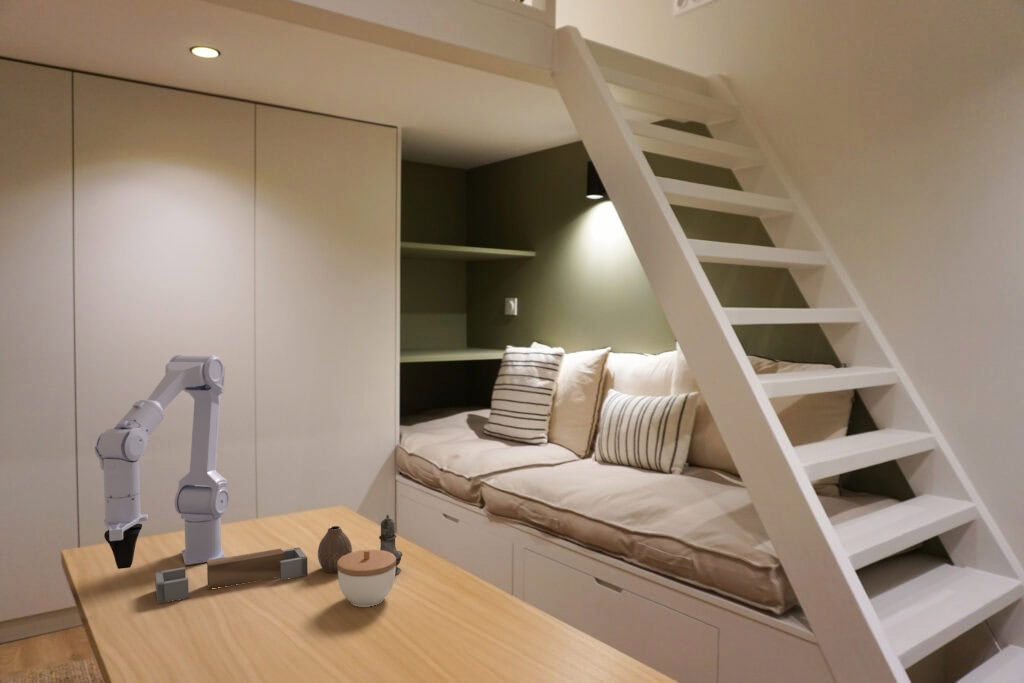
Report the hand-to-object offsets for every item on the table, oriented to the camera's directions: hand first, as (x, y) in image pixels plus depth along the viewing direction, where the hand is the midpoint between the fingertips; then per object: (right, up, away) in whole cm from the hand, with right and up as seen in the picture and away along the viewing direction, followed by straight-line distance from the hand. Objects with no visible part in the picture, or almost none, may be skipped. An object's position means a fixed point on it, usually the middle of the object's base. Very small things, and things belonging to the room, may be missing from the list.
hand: (124, 567), depth 128 cm
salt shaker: (+46, -6, +15) cm, 49 cm away
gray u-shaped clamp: (+7, -7, +4) cm, 10 cm away
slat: (+18, -6, +11) cm, 22 cm away
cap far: (+26, -6, +15) cm, 30 cm away
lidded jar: (+44, -7, +2) cm, 45 cm away
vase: (+34, -6, +17) cm, 39 cm away
